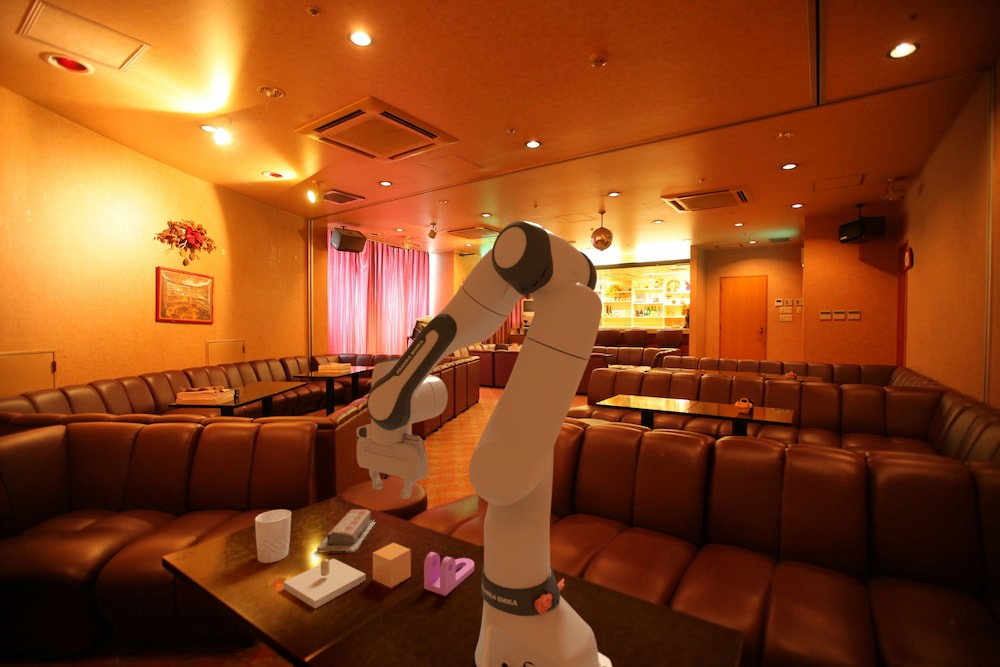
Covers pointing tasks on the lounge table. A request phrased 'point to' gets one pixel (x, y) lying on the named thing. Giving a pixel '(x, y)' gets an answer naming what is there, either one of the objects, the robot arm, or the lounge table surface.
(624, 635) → the lounge table surface
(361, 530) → the packaged product
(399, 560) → the solid orange cube
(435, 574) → the bracket
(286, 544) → the white cup
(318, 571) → the pin plate
